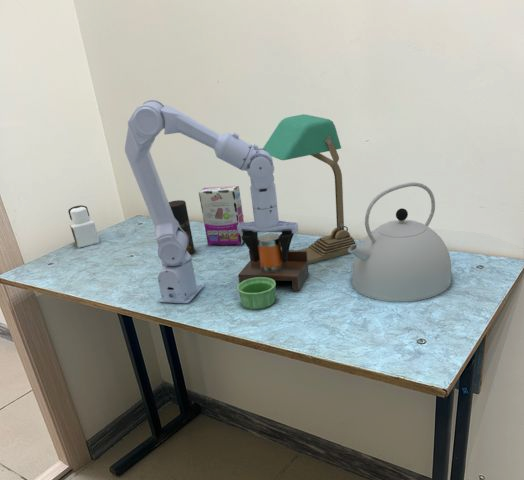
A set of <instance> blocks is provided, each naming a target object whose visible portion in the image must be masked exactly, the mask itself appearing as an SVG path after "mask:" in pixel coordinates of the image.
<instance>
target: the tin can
mask: <svg viewBox="0 0 524 480" xmlns="http://www.w3.org/2000/svg"><path fill="white" fill-rule="evenodd" d="M279 236H280V234H278V233H265V234H261V235H258V238H257V242H258V251H259V259H260V266H261V271H262V272H265V273H274V272H278V271H280V270H282V268H283V264H282V252H281V250H282V249H281V244H280V240H279Z"/></svg>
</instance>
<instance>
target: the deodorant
mask: <svg viewBox="0 0 524 480" xmlns="http://www.w3.org/2000/svg"><path fill="white" fill-rule="evenodd" d="M168 202H169V205H170V207H171V210H172V213H173V215H174V218H175V219H176V220H177V221H178V222H179V225H180V227H181V229H182V230H183V231H184V232H185V233H186V234H187V236H188V239H189V243H188V247H187V248H186V250H187V251H188V253H189V254H190V255H191V256H192V255H194V254H195V253H196V250H195V245H194V240H193V234H192V230H191V229H192V228H191V224H190V218H189V214H188V213H189V212H188V208H187V207H188V206H187V203H186V201H185V200H182V199H177V200H172V201H168Z"/></svg>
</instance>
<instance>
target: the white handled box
mask: <svg viewBox="0 0 524 480" xmlns="http://www.w3.org/2000/svg"><path fill="white" fill-rule="evenodd" d="M67 213H68V216H69V219H70V221H69V222H68V223H69V227H70V230H71V233H72V237H73V240H74V242H75V245H76V246H77V248H78V249H80V248H84V247H88V246H92V245H97V244H100V242H101V241H100V238H99V234H98V231H97V228H96V224H95V222H94V220H93V218H92V217H90V212H89V209H88V207H87V206H86V205H81V204H80V205H74V206H71V207H70V208H69V209H68V211H67Z"/></svg>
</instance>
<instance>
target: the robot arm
mask: <svg viewBox="0 0 524 480" xmlns="http://www.w3.org/2000/svg"><path fill="white" fill-rule="evenodd" d="M162 131H164V132H163V134H164V135H172V134H182V135H184V136H186V137H187V138H190V139H192V140H194V141H196V142H198V143H199V144H200V143H201V144H202V145H205V146H207V147H209V148H210V149H213V151H214V153H215V157H216V158H217V159H219V160H221V161H223V162H225V163H227V164H229V165H230V166H233V167H234V168H236V169H238V170H240V171H244V172H245V171H246V172H247V175H248V177H249V180H250V187H249V190H250V196H251V197H250V198H251V206H252V213H253V221H247V222H244V223H239V224H238V225H237V230H238V233H243V236H242V240H243V241H244V244H245V245H246V247H247V249H248V250H249V251H250V252H251V254H252V257H253V259H254V262H257V261H258V260H259V251H258V242H257V238H258V237H259V235H258V233H280V234H279V240H280V244H281V250H282V260H283V263H286V262H287V260H288V253H289V250H290V247H291V243H292V240H293V237H294V235H295V234H297V233H298V232H299V222H292V221H285V220H279V218H280V217H279V209H278V198H277V197H278V196H277V190H276V189H277V188H276V183H275V176H274V173H275V166H274V160H273V157H272V156H271V155H270V154H269V153H268V152H267V151H266V150H265V149H263V147H259V145H257V144H256V143H255V144H254V145H253V144H250V143H249V142H247V141H245V140H243V139H241V138H240V135H239V133H237V132H235V131H234V132H233V133H231V132H229V131H228V132H225V133H221V134H219V133H218V132H216V131H214V130H212V129H210V128H209V127H208V126H206V125H204V124H203V123H200V122H199V121H197V120H195V119H193V118H192V117H191V116H189V115H187V114H185V113H184V112H183V111H180V110H178V109H176V108H174V107H172V106H170V105H167V104H165V105H164V104H163V103H162V102H161V101H158V100H155V99H149V100H147V101H145V102H143V103H142V105H140V106H138V107H136V109H135V110H134V111H133V112H132V114H131V115H130V117H129V119H128V121H127V132H126V139H125V143H124V144H125V145H124V153H125V155H126V158H127V160H128V163H129V165H130V168H131V170H132V173H133V176H134V178H135V180H136V183H137V185H138V188H139V190H140V193H141V196H142V198H143V201H144V203H145V206H146V208H147V211H148V214H149V216H150V219H151V220H152V223H153V226H154V233H155V240H156V242H157V255H158V258H159V260H160V261H161V270H160V272H159V273H158V276H157V282H158V286H159V290H160V295H161V298H159V303H171V304H172V303H173V304H189V303H191V301H192V300H193V299H194V298H195V297H196V296H197V295H198V294H199V293H200V292H201V290H202V289H203V288H204V285H203V284H197V280H196V275H195V270H194V265H193V259H192V255H190V254H189V253H188V251H187V250H186V248H187V247H188V243H189V239H188V236H187V234H186V233H185V232H184V231H183V230H182V229H181V227H180V225H179V222H178V221H177V220H176V219H175V218H174V215H173V213H172V210H171V207H170V205H169V202H170V201H169V200H168V196H167V194H166V192H165V189H164V186H163V184H162V181H161V179H160V176H159V174H158V173H159V172H158V170H157V167H156V165H155V163H154V162H155V161H154V159H153V157H152V155H151V152H150V151H151V148H152V146H153V144H154V142H155V140H156V138H157V136H158V135H159V134H160V133H161V132H162Z"/></svg>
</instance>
